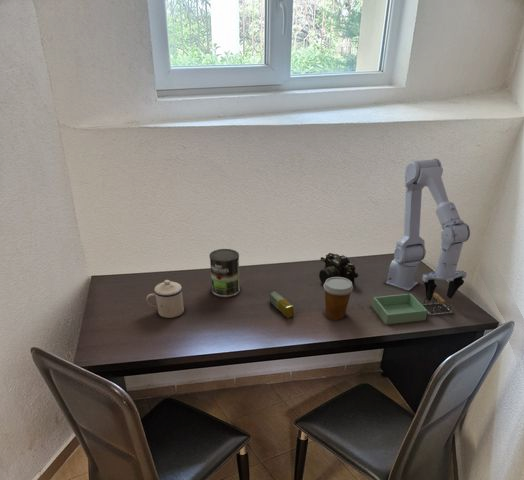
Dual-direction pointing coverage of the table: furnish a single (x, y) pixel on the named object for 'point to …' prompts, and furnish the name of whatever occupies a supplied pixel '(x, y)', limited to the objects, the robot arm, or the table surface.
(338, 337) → the table surface
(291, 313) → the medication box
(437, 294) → the dish rack
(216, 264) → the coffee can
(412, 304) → the green open tray
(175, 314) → the teacup with lid
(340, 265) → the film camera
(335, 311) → the disposable coffee cup
